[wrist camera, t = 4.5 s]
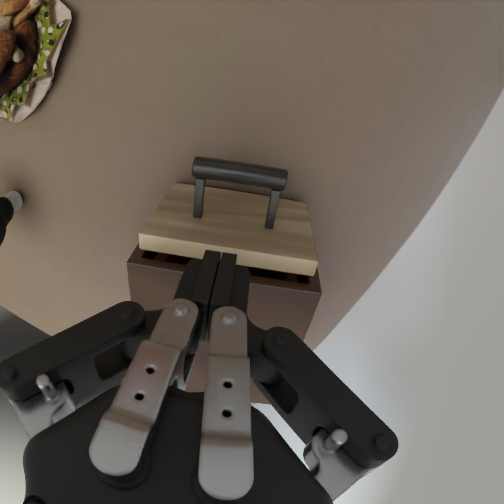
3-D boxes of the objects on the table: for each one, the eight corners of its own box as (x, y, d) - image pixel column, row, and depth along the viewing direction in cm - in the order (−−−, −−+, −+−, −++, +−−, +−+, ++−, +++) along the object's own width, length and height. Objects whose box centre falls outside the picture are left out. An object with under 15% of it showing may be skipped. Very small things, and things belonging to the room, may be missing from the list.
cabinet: (170, 195, 28) (126, 262, 19) (307, 216, 28) (322, 293, 20) (170, 310, 36) (145, 384, 27) (276, 326, 36) (275, 405, 28)
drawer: (177, 134, 24) (136, 168, 17) (317, 155, 24) (338, 199, 17) (173, 298, 34) (151, 361, 26) (276, 315, 34) (275, 382, 27)
